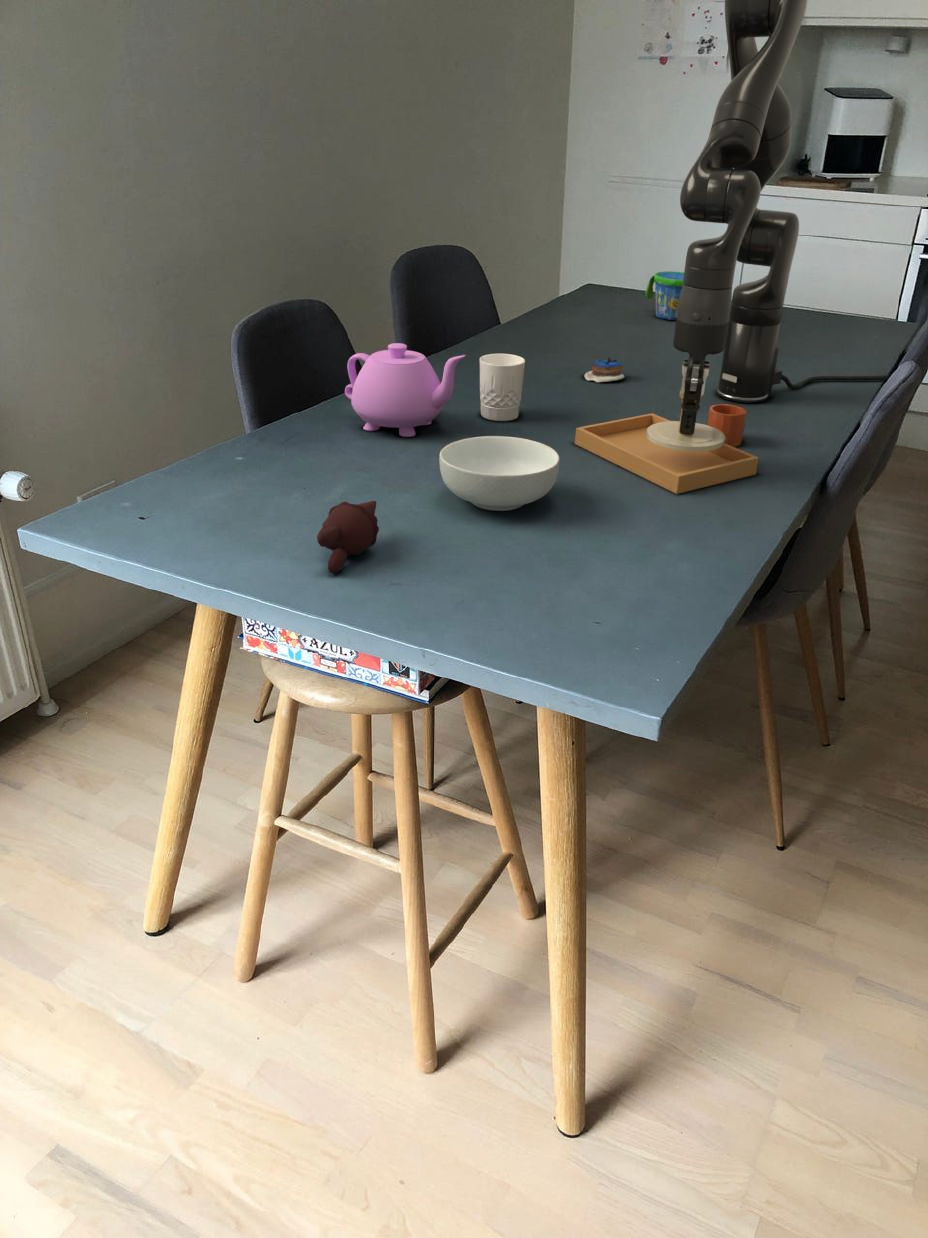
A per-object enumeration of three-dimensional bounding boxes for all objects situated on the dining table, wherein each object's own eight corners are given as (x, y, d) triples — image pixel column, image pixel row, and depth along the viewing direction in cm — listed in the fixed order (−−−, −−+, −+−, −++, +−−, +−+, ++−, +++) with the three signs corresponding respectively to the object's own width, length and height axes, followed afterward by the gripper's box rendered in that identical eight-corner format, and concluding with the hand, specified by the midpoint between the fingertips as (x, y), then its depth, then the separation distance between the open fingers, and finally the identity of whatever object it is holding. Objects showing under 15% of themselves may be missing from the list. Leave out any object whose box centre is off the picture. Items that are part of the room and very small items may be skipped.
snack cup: (709, 321, 246) (715, 278, 241) (678, 326, 241) (684, 282, 236) (663, 309, 257) (668, 267, 252) (633, 313, 252) (638, 271, 247)
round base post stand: (686, 421, 163) (693, 377, 159) (741, 443, 154) (749, 397, 150) (630, 432, 157) (635, 386, 154) (683, 456, 148) (690, 408, 145)
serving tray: (650, 428, 174) (652, 412, 173) (755, 474, 156) (758, 457, 155) (574, 443, 166) (575, 427, 165) (676, 494, 148) (679, 476, 147)
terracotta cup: (723, 433, 173) (727, 402, 170) (748, 443, 169) (754, 411, 166) (697, 438, 170) (702, 407, 168) (723, 449, 166) (728, 417, 163)
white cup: (518, 424, 174) (521, 367, 169) (473, 420, 176) (475, 363, 171) (524, 410, 181) (528, 355, 176) (482, 406, 182) (484, 351, 177)
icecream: (342, 480, 133) (289, 532, 121) (392, 475, 130) (342, 528, 118) (357, 526, 136) (307, 582, 124) (406, 523, 133) (359, 579, 121)
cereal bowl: (568, 488, 149) (572, 443, 146) (539, 532, 135) (542, 482, 132) (460, 472, 154) (462, 427, 150) (421, 512, 140) (421, 464, 136)
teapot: (479, 422, 175) (482, 342, 168) (444, 449, 162) (446, 365, 155) (366, 404, 182) (364, 327, 175) (324, 429, 169) (320, 347, 162)
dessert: (625, 369, 204) (625, 350, 198) (624, 395, 201) (624, 376, 195) (585, 369, 205) (584, 350, 199) (583, 396, 202) (583, 377, 197)
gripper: (729, 329, 140) (710, 448, 148) (728, 308, 152) (711, 419, 160) (674, 325, 141) (659, 442, 150) (678, 304, 153) (664, 414, 162)
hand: (686, 430), depth 155 cm, fingers closed on round base post stand, 2 cm apart
